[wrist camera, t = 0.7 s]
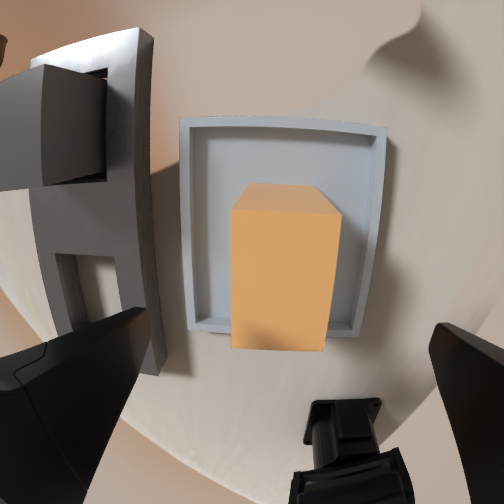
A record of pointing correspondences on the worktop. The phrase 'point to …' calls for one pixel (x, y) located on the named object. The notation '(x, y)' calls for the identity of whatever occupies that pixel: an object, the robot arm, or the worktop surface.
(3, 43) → the portable speaker
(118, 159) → the grey slotted frame
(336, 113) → the worktop surface
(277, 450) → the worktop surface
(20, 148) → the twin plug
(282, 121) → the tray
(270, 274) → the orange block
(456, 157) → the worktop surface
